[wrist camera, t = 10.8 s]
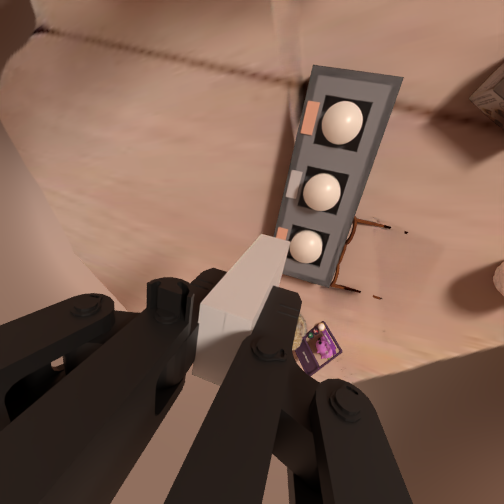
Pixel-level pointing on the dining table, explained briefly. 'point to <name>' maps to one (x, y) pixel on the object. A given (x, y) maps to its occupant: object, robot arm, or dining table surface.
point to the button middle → (322, 192)
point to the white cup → (499, 278)
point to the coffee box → (492, 97)
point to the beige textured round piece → (299, 332)
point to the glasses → (345, 249)
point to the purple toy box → (323, 347)
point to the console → (333, 163)
